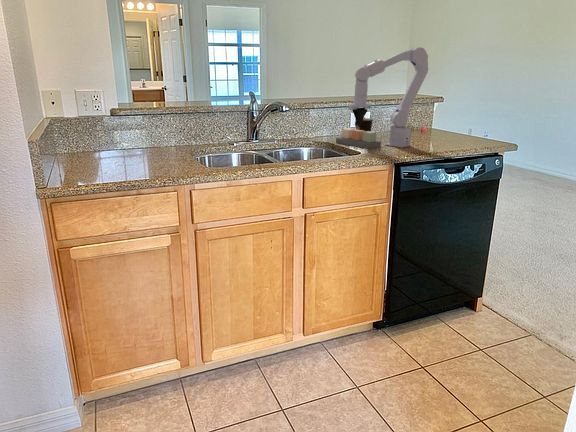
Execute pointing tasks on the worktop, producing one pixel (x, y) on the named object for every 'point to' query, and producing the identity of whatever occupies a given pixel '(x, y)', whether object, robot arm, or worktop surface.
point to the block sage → (369, 136)
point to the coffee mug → (365, 125)
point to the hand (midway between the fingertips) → (358, 124)
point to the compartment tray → (358, 143)
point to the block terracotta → (357, 134)
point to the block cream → (346, 133)
